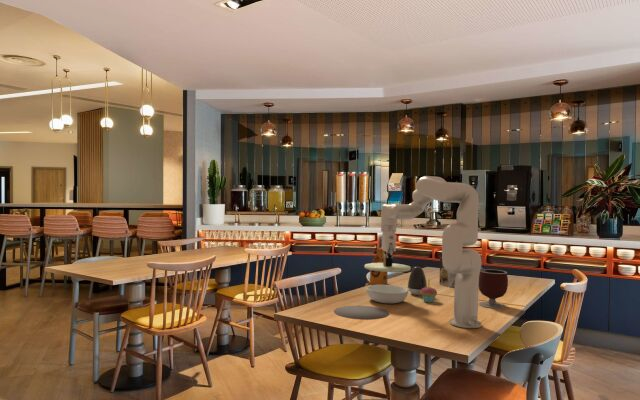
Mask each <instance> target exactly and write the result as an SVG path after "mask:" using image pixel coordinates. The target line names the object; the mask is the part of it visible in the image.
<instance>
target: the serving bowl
mask: <svg viewBox="0 0 640 400" xmlns="http://www.w3.org/2000/svg"><path fill="white" fill-rule="evenodd" d="M366 294H367V295H368V297H369V299H371V300H372V301H374V302H376V303H381V304H397V303H402V302H403V301H405V300H406V299H407V297H408V294H409V289H408V288H406V287H403V286H400V285H394V284H393V285H391V284H386V285H371V284H370V285H368V286H366Z"/></svg>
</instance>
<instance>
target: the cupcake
mask: <svg viewBox="0 0 640 400" xmlns="http://www.w3.org/2000/svg"><path fill="white" fill-rule="evenodd" d="M427 282H428V283H427V287H425V288H423V289H421V290H420V294H422V295H421V296H422V299H423V302H425V303H434V300H435V298H436V296H438V291H437V290H436V289H435V288H433V287H430V279H428V280H427Z"/></svg>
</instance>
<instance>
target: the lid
mask: <svg viewBox="0 0 640 400" xmlns="http://www.w3.org/2000/svg"><path fill="white" fill-rule="evenodd" d="M386 258H387V254H384V263H365V264H364V269H366V270H369V271H370V270H373V271H381V272H388V273H403V272H405V273H406V272H410V271H412V270H411V269H412V266H410V265H406V264H402V263H401V264H400V263H393V262H392V266H386Z"/></svg>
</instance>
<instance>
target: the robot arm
mask: <svg viewBox="0 0 640 400" xmlns="http://www.w3.org/2000/svg"><path fill="white" fill-rule="evenodd" d="M415 185H416V187H415V188H416V189H415V190H414V191H412V202H410V203H409V204H408V203H407V204H406V203H405V204H400V203H399V204H398V203H397V204H391V203H390V204H388V203H387V204H382V205H381V216H380V220H381V221H380V223H381V224H380V232H381V233H382V235H381V247H382V250H383V252H384V253H383V256H384V254H387V258H386V266H392V263H393V259H394V258H393V255H394V253H395V252H396V251H397V240H396V238H397V236H396V233H397V221H400V220H401V221H403V220H412V219H415V218H417V217H418V216H419V215H420V214H422V213H423V212H424V211H425V209H426V206H427V205H428V204H430V203H431V202H432V201H434V200H435V201H437V202H441V203H458V205H459V206H458V208H457V211H456V221H455V222H454V223H449V224H447V225H446V226H445V228H444V229H443V231H442V237H441V252H442V253H441V255H442V256H441V258H442V262H443V266H444V268H445V269H446V271H448V272H449V273H457V275H456V278H455V287H454V294H453V295H454V299H453V318H451V319H450V320H449V323H450V325H452V326H455V327H458V328H461V329H462V328H463V329H477V328H481V327H482V322H481V321H479V320H478V318H479V316H478V314H479V274H480V270H481V267H482V264H483V263H482V256H481V254H480V253H479V252H478V251H477V250H475V249H472V248H463V247H467V246H468V247H469V246H472V245H473V246H474V245H475V244H476V243H477V241H478V239H479V238H478V237H479V217H478V216H479V213H478V212H479V193H478V191H477V190H476V189H475V188H474V186H473V185H470V184H467V183H464V182H452V181H451V182H450V181H446V180H445V179H444V178H442V177H440V176H430V175H424V176H422V177H420V178H419V179H418V180H417V182H416V183H415ZM383 263H384V257H383Z"/></svg>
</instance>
